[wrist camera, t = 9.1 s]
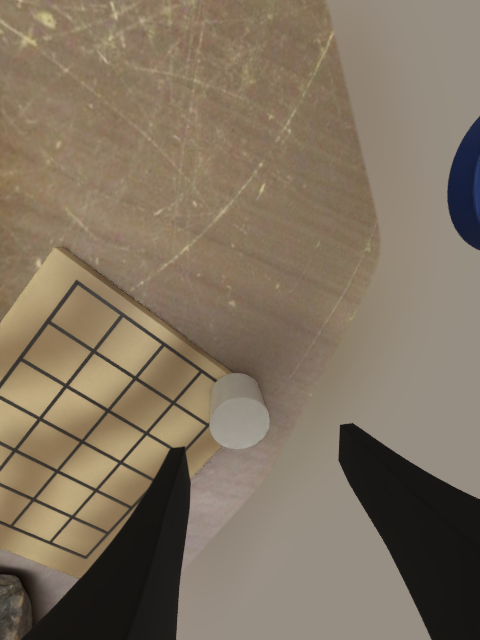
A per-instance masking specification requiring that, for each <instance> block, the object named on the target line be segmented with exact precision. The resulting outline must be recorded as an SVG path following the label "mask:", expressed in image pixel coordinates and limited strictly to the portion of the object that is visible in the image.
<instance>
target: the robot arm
mask: <svg viewBox="0 0 480 640" xmlns="http://www.w3.org/2000/svg"><path fill="white" fill-rule="evenodd" d="M339 462H340V465H341V467H342V469H343V471H344V474H345V476H346V478H347V480H348V482H349V484H350V486H351V487H352V489H353V491H354V493H355V494H356V496H357V497H358V499H359V501H360V502H361V504H362V506H363V508H364V509H365V511H366V512H367V514H368V516H369V517H370V519H371V521H372V522H373V524H374V526H375V527H376V529H377V531H378V532H379V534H380V536H381V537H382V539H383V541H384V543H385V544H386V546H387V548H388V550H389V552H390V554H391V556H392V558H393V560H394V562H395V563H396V566H397V568H398V570H399V572H400V574H401V576H402V578H403V580H404V582H405V584H406V586H407V588H408V590H409V592H410V594H411V596H412V598H413V600H414V603H415V605H416V607H417V609H418V611H419V613H420V615H421V617H422V619H423V622H424V624H425V626H426V628H427V630H428V633H429V635H430V637H431V639H432V640H480V499H478V498H476V497H473V496H471V495H469V494H467V493H465V492H463V491H461V490H459V489H457V488H455V487H453V486H451V485H449V484H448V483H446V482H444V481H442V480H440V479H438V478H436V477H435V476H433V475H431V474H429V473H428V472H426V471H424V470H423V469H421V468H419V467H418V466H416V465H414V464H413V463H411V462H409V461H408V460H406V459H405V458H403V457H402V456H400V455H398V454H397V453H395V452H394V451H392V450H391V449H389V448H388V447H386V446H385V445H384V444H382V443H381V442H379V441H378V440H376V439H375V438H373V437H372V436H371V435H369V434H368V433H366V432H365V431H363V430H362V429H360V428H359V427H358V426H356V425H355V424H353V423H352V424H343V425H340V440H339ZM190 485H191V482H190V475H189V469H188V463H187V457H186V450H185V446H183V447H176V448H171V449H170V450H169V451H168V453H167V455H166V457H165V459H164V461H163V463H162V465H161V467H160V469H159V471H158V472H157V474H156V476H155V478H154V479H153V481H152V483H151V484H150V486H149V488H148V489H147V491H146V493H145V494H144V496H143V497H142V499H141V500H140V502H139V504H138V505H137V507H136V508H135V510H134V511H133V513H132V514H131V516H130V517H129V518H128V520H127V521H126V523H125V524H124V525H123V527H122V528H121V530H120V531H119V532H118V533H117V535H116V536H115V537H114V539H113V540H112V541H111V543H110V544H109V545H108V546H107V548H106V549H105V550H104V551H103V552H102V554H101V555H100V556H99V557H98V559H97V560H96V561H95V562H94V563H93V565H92V566H91V567H90V568H89V569H88V570H87V572H86V573H85V574H84V575H83V576H82V577H81V578H80V579H79V580H78V581H77V583H76V584H75V585H74V586H73V587H72V588H71V589H70V590H69V591H68V592H67V593H66V594H65V596H64V597H63V598H62V599H61V600H60V601H59V602H58V603H57V604H56V605H55V606H54V607H53V608H52V609H51V610H50V611H49V612H48V613H47V614H46V615H45V616H44V617H43V618H42V619H41V620H40V621H39V622H38V623H37V624H36V625H35V626H34V627H33V628H32V629H31V630H30V631H29V632H28V633H27V634H26V635H25V636H24V637H23V638H22V639H21V640H176V630H177V614H178V598H179V585H180V575H181V568H182V560H183V553H184V546H185V539H186V531H187V524H188V517H189V509H190Z"/></svg>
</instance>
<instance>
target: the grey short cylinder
mask: <svg viewBox="0 0 480 640" xmlns="http://www.w3.org/2000/svg"><path fill="white" fill-rule="evenodd" d="M269 426H270V416H269V413H268V410H267V407H266V404H265V401H264V399H263V396H262V393H261V390H260V387H259V385H258V383H257V382H256V381H255V380H254V379H253V378H252V377H250V376H248V375H246V374H242V373H232V374H228V375H225V376H223V377H221V378H220V379H219V380H217V381H216V382H215V384H214V385H213V387H212V388H211V391H210V397H209V428H210V432H211V435H212V436H213V438H214V439H215V441H216V442H217V443H219V444H220V445H222V446H224V447H226V448H229V449H246V448H249V447H251V446H254V445H255V444H257V443H258V442H260V441H261V440H262V439H263V438H264V436H265V435H266V433H267V431H268V429H269Z"/></svg>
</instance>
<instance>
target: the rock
mask: <svg viewBox="0 0 480 640" xmlns="http://www.w3.org/2000/svg"><path fill="white" fill-rule="evenodd" d="M32 628H33V627H32V606H31V601H30V599H29V596H28V594H27V593H26V592H25V590H24V588H23V586H22V583H21V581H20V580H19V579H18V578H17V577H16V576H14V575H4V574H0V640H21V639H22V638H23V637H24V636H25V635H26V634H27V633H28V632H29V631H30V630H31V629H32Z"/></svg>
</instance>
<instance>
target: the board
mask: <svg viewBox="0 0 480 640" xmlns="http://www.w3.org/2000/svg"><path fill="white" fill-rule="evenodd" d="M228 374H232V372H231V371H230V370H228V369H227V368H226V367H224V366H223V365H222V364H220V363H219V362H218V361H216V360H215V359H214V358H212V357H211V356H209V355H208V354H207V353H205V352H204V351H203V350H201V349H200V348H199V347H197V346H196V345H195V344H193V343H192V342H191V341H189V340H188V339H186V338H185V337H184V336H182V335H181V334H180V333H178V332H177V331H176V330H174V329H173V328H172V327H170V326H169V325H168V324H166V323H165V322H163V321H162V320H161V319H159V318H158V317H157V316H155V315H154V314H153V313H151V312H150V311H149V310H147V309H146V308H145V307H143V306H142V305H140V304H139V303H138V302H136V301H135V300H134V299H132V298H131V297H130V296H128V295H127V294H126V293H124V292H123V291H122V290H120V289H119V288H118V287H116V286H115V285H113V284H112V283H111V282H109V281H108V280H107V279H105V278H104V277H103V276H101V275H100V274H99V273H97V272H96V271H95V270H93V269H92V268H90V267H89V266H88V265H86V264H85V263H84V262H82V261H81V260H80V259H78V258H77V257H76V256H74V255H73V254H72V253H70V252H69V251H67V250H66V249H65V248H63V247H54V249H53V250H52V251H51V253H50V254H49V256H48V257H47V258H46V260H45V261H44V263H43V264H42V265H41V267H40V268H39V270H38V271H37V272H36V274H35V275H34V277H33V278H32V279H31V281H30V282H29V284H28V285H27V286H26V288H25V289H24V291H23V292H22V293H21V295H20V296H19V298H18V299H17V300H16V302H15V303H14V305H13V306H12V307H11V309H10V310H9V312H8V313H7V314H6V316H5V317H4V319H3V320H2V321H1V323H0V548H1V549H4V550H7V551H9V552H12V553H14V554H17V555H19V556H22V557H25V558H27V559H30V560H32V561H35V562H37V563H40V564H43V565H45V566H48V567H50V568H53V569H56V570H58V571H61V572H63V573H66V574H68V575H71V576H74V577H76V578H79V579H80V578H81V577H82V576H83V575H84V574H85V573H86V572H87V570H88V569H89V568H90V567H91V566H92V565H93V563H94V562H95V561H96V560H97V559H98V557H99V556H100V555H101V554H102V552H103V551H104V550H105V549H106V548H107V546H108V545H109V544H110V543H111V541H112V540H113V539H114V537H115V536H116V535H117V533H118V532H119V531H120V530H121V528H122V527H123V525H124V524H125V523H126V521H127V520H128V518H129V517H130V516H131V514H132V513H133V511H134V510H135V508H136V507H137V505H138V504H139V502H140V500H141V499H142V497H143V496H144V494H145V493H146V491H147V489H148V488H149V486H150V484H151V483H152V481H153V479H154V478H155V476H156V474H157V472H158V471H159V469H160V467H161V465H162V463H163V461H164V459H165V457H166V455H167V453H168V451H169V450H170V449H171V448H176V447H183V446H185V450H186V457H187V463H188V469H189V475H190V479H191V478H192V477H193V476H194V475H195V474H196V472H197V471H198V470H199V469H200V468H201V467H202V466H203V465H204V464H205V463H206V462H207V461H208V460H209V459H210V458H211V457H212V456H213V455H214V454H215V452H216V451H217V450H218V449H219V448H220V447H221V446H222V445H220V444H219V443H217V442H216V441H215V439H214V438H213V436H212V435H211V432H210V428H209V397H210V391H211V388H212V387H213V385H214V384H215V382H216V381H217V380H219V379H220V378H221V377H223V376H225V375H228Z"/></svg>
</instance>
